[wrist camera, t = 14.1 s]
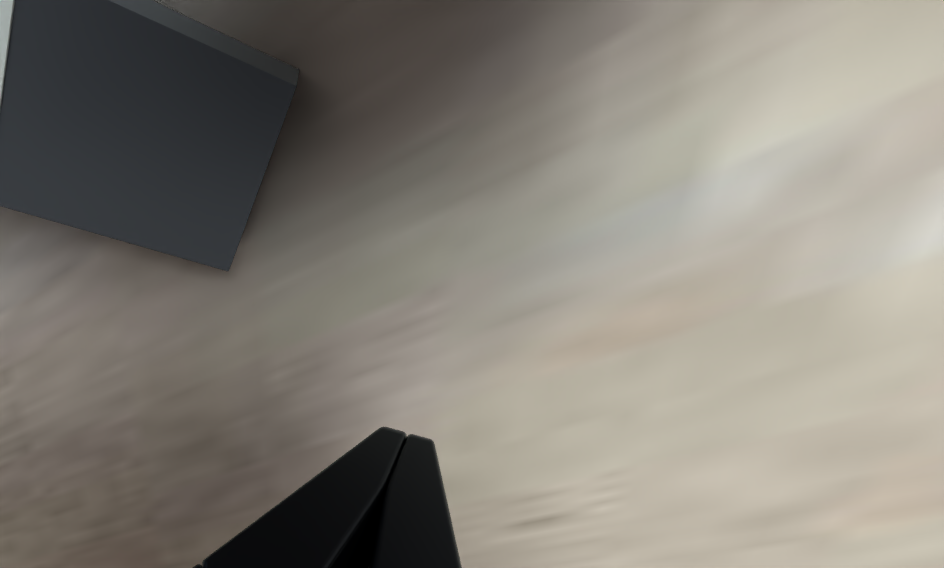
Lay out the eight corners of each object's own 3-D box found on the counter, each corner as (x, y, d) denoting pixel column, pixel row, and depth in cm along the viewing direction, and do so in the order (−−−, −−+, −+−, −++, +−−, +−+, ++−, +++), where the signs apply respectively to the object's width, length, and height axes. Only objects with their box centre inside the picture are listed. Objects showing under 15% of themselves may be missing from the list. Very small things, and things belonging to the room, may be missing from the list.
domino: (296, 86, 11) (-462, -259, 7) (228, 272, 13) (-395, 94, 9) (299, 68, 13) (-333, -229, 8) (237, 239, 15) (-300, 71, 10)
